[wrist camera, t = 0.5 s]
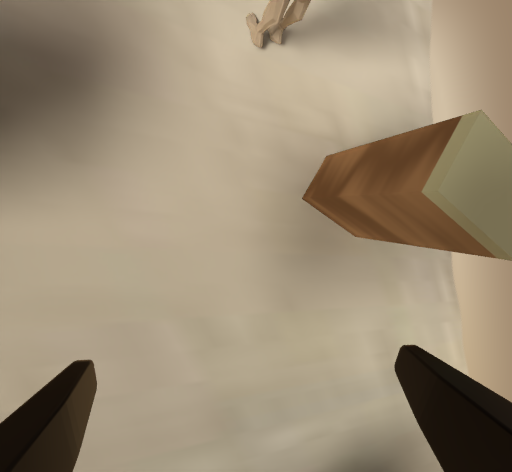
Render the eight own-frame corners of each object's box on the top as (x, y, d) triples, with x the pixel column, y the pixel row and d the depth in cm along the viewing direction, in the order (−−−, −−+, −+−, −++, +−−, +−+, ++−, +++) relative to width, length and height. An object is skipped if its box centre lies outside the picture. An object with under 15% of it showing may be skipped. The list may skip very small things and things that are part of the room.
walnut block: (355, 236, 25) (515, 261, 14) (302, 198, 23) (437, 190, 12) (377, 196, 26) (551, 189, 14) (326, 156, 24) (481, 109, 12)
